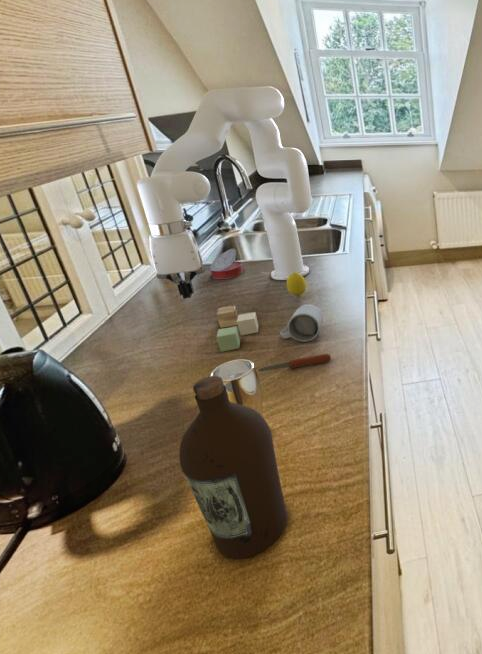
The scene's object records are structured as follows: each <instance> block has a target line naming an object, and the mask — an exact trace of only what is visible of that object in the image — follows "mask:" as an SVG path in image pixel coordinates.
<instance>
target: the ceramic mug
mask: <svg viewBox="0 0 482 654" xmlns="http://www.w3.org/2000/svg"><path fill="white" fill-rule="evenodd" d="M323 320H324V316H323V312H322V310H321V309H320V307H318V306H317V305H314V304H310V303H308V304H303V305H301V306H299V307H298V308H297V309H296V310H295V311H294V313H293V315H292V316H291V317H290V319H289V320H288V322H287V325H286V326H285V327H284V328H282V330H281V331H280V333H279V335H280V336H281V337H282V339H284V340H285V339H288V338H292V339H294V340H295V341H298V342H303V343H305V342H311V341H313V340H315V339H316V338H317V337H318V336H319V333H320V330H321V327H322V324H323Z"/></svg>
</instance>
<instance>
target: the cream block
mask: <svg viewBox="0 0 482 654" xmlns="http://www.w3.org/2000/svg"><path fill="white" fill-rule="evenodd" d="M237 315H238V319H237V329H238V332H239V336H247V335H252V334H257V333H259V322H258V318H257V314H256V311H254V312H246V313H241V314H237Z"/></svg>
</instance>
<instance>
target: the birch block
mask: <svg viewBox="0 0 482 654" xmlns="http://www.w3.org/2000/svg"><path fill="white" fill-rule="evenodd" d="M238 315H239V314H238V311H237V308H236V305H228V306H223V307H218V309H217V313H216V317H217V322H218V324H219V327H220V328H219V329H224V328H229V327H235V326H238V324H237V319H238Z"/></svg>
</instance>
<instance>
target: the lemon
mask: <svg viewBox="0 0 482 654" xmlns="http://www.w3.org/2000/svg"><path fill="white" fill-rule="evenodd" d="M304 277H305V276H302V275H300V274H298V273H295V272H294V273H293V274H291V275H290V276H289V277H288V278H287V280H286V289H287V291H288V292H289V293H290V295H292V296H295V297H298V298H299V297H301V295H303V294H305V292H306V290H307V282H306V279H305V278H304Z"/></svg>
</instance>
